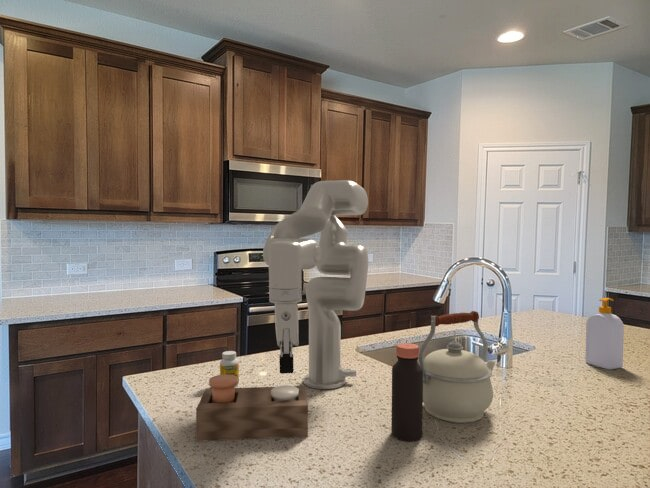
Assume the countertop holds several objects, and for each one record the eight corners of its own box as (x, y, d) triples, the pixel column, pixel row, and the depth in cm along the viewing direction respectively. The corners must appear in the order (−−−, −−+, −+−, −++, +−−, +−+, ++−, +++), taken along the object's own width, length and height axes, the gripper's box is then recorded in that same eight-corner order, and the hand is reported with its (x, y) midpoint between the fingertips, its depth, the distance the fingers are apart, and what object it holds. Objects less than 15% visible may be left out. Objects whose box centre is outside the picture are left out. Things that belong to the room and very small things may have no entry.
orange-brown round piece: (239, 399, 103) (239, 374, 103) (236, 410, 97) (236, 383, 97) (211, 400, 103) (211, 374, 103) (207, 411, 96) (206, 384, 96)
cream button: (298, 409, 105) (298, 385, 105) (299, 421, 99) (299, 395, 98) (271, 410, 104) (271, 385, 104) (270, 422, 98) (270, 395, 98)
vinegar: (415, 445, 93) (417, 351, 92) (386, 436, 96) (387, 346, 96) (426, 432, 98) (427, 344, 98) (398, 425, 102) (399, 340, 101)
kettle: (446, 435, 97) (448, 324, 96) (396, 406, 113) (397, 310, 112) (523, 414, 108) (525, 314, 108) (467, 390, 125) (469, 303, 124)
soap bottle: (624, 367, 146) (626, 299, 146) (610, 370, 144) (612, 300, 143) (598, 360, 155) (600, 296, 154) (585, 362, 152) (586, 297, 151)
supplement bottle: (234, 380, 132) (234, 349, 131) (241, 386, 127) (241, 353, 127) (217, 384, 129) (217, 351, 128) (223, 389, 124) (223, 356, 124)
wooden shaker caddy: (305, 413, 108) (305, 385, 108) (307, 436, 96) (308, 405, 96) (205, 417, 106) (205, 388, 105) (196, 441, 94) (196, 409, 93)
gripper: (303, 300, 94) (304, 383, 95) (300, 288, 109) (301, 360, 110) (268, 301, 93) (269, 385, 94) (270, 289, 108) (271, 362, 109)
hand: (286, 371), depth 102 cm, fingers closed
